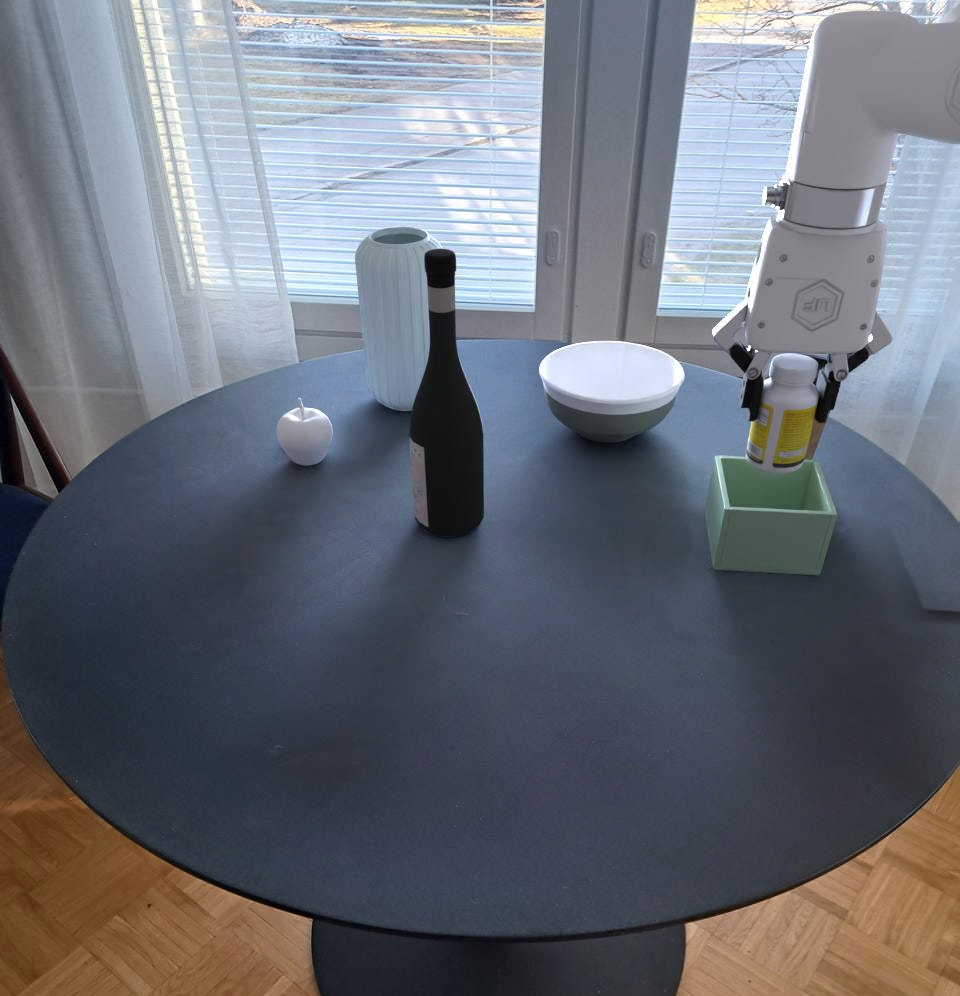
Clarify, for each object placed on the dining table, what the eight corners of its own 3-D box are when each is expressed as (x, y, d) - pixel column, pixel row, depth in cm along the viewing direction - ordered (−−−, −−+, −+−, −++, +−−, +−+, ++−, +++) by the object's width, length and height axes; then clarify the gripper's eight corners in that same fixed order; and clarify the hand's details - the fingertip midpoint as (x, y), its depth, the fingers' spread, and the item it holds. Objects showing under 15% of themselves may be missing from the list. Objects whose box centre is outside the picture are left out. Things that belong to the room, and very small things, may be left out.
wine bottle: (408, 538, 102) (388, 264, 82) (421, 501, 108) (406, 237, 88) (479, 543, 101) (476, 268, 81) (488, 506, 107) (488, 240, 87)
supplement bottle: (810, 456, 86) (835, 357, 80) (792, 481, 83) (816, 380, 76) (756, 442, 89) (775, 345, 82) (735, 465, 85) (754, 366, 79)
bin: (802, 518, 104) (818, 459, 99) (820, 575, 96) (837, 514, 91) (704, 513, 105) (714, 455, 100) (712, 569, 97) (724, 509, 92)
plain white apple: (332, 442, 119) (324, 384, 114) (339, 468, 114) (332, 409, 109) (278, 449, 118) (268, 391, 112) (284, 475, 112) (274, 416, 107)
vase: (353, 409, 126) (336, 243, 112) (391, 376, 134) (379, 217, 120) (428, 423, 123) (419, 254, 108) (461, 389, 131) (458, 227, 116)
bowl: (520, 449, 117) (521, 389, 112) (556, 389, 130) (559, 333, 125) (664, 471, 112) (672, 410, 107) (686, 406, 126) (694, 349, 121)
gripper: (725, 216, 69) (692, 432, 80) (958, 217, 67) (890, 437, 79) (714, 190, 74) (685, 395, 86) (928, 191, 73) (869, 399, 85)
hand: (784, 413), depth 82 cm, fingers closed on supplement bottle, 5 cm apart
